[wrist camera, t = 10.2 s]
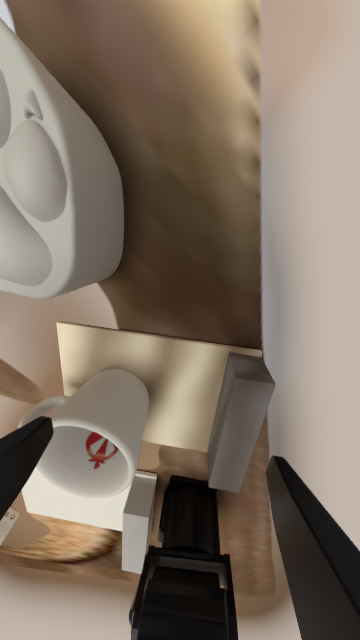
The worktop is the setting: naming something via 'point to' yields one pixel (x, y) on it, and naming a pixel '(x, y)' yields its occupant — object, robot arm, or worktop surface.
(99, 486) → the cup
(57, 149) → the lumpy-topped squat cylinder
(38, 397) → the worktop surface
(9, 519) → the skincare box
